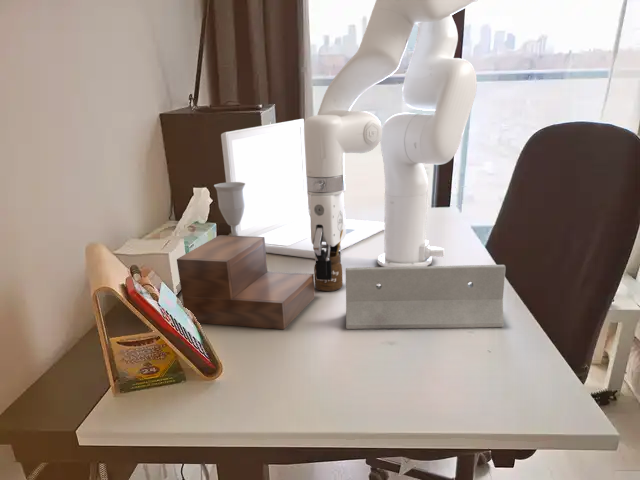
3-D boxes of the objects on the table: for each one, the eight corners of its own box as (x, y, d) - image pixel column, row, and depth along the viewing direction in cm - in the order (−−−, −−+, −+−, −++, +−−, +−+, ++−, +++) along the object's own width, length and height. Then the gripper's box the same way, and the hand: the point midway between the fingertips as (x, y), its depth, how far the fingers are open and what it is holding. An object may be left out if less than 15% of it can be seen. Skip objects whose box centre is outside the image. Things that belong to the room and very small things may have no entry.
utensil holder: (317, 282, 141) (315, 226, 135) (346, 283, 140) (344, 226, 134) (312, 291, 136) (309, 233, 130) (341, 292, 135) (340, 233, 129)
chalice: (257, 259, 160) (250, 182, 151) (245, 266, 155) (237, 187, 146) (230, 257, 162) (222, 181, 153) (218, 265, 157) (208, 187, 148)
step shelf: (314, 297, 133) (311, 238, 127) (284, 329, 118) (279, 264, 112) (225, 292, 138) (219, 235, 132) (185, 321, 124) (176, 259, 118)
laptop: (323, 260, 157) (318, 134, 143) (232, 248, 170) (219, 132, 156) (387, 229, 181) (388, 118, 168) (304, 221, 195) (298, 118, 181)
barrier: (346, 329, 117) (344, 274, 112) (347, 315, 123) (346, 262, 118) (503, 327, 114) (508, 271, 109) (496, 313, 121) (501, 259, 116)
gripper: (331, 193, 120) (334, 288, 129) (355, 177, 134) (356, 264, 143) (293, 192, 122) (298, 286, 131) (320, 177, 136) (324, 262, 145)
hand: (328, 273), depth 137 cm, fingers closed on utensil holder, 6 cm apart
